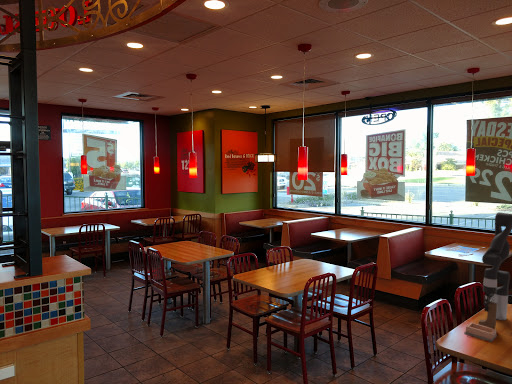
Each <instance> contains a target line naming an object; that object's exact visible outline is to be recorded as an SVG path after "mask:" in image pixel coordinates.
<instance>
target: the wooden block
mask: <svg viewBox="0 0 512 384" xmlns="http://www.w3.org/2000/svg"><path fill="white" fill-rule="evenodd" d="M496 313H497V303H495V302H491V303H489V311H488V312H487V314H486V315H487V316H486V318H485V319H479V321H478V324H479V325H482V326H486V327H489V328H493V329H496V323H497V319H496Z"/></svg>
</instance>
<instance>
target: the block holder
mask: <svg viewBox="0 0 512 384" xmlns="http://www.w3.org/2000/svg"><path fill="white" fill-rule="evenodd" d="M464 335H468V336H470V337H474V338H477V339H480V340H483V341H488V342H491V343H493V341H494V340H495V339H496V338H497V336H498V334H497V329H496V328H495V329H493V328H489V327H486V326H482V325H479V323H474V322H469V323H467V325H466V326H465V331H464Z"/></svg>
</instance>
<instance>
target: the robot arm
mask: <svg viewBox="0 0 512 384" xmlns="http://www.w3.org/2000/svg"><path fill="white" fill-rule="evenodd" d="M502 227H503V228H504V229H503V228H502ZM511 232H512V213H506V212H496V214H495V216H494V237H493V238H492V239H491V242H490V245H489V247H488V249H487V250H486V251H485V252H484V253H483V256H482V257H481V262H482V263H483V264H484V265H487V266H491V268H488V267H487V268H485V270H484V274H483V275H484V276H483V282H482V284H483V285H482V291H483V293H485V295H484V296H483V303H482V305H484V308H483V309H484V310H483V311H484V312H487V313H488V311H489V303H491V302H495V303H497V313H496V320H500V321H506V320H507V314H508V303H509V302H508V301H509V287H510V280H511V274H510V272H509V271H503V270H500V268H501V264H502V263H503V262H505V260H506V259H507V258H508V257H509V256H510V251H511V250H510V249H511V246H510V242H509V241H508V237H509V236H510V233H511ZM498 285H502V286H498Z"/></svg>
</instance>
